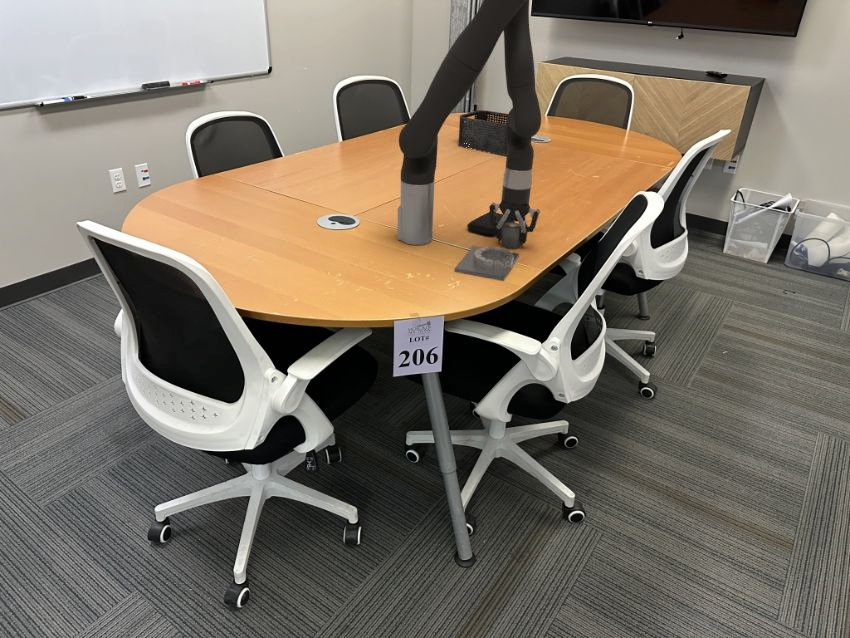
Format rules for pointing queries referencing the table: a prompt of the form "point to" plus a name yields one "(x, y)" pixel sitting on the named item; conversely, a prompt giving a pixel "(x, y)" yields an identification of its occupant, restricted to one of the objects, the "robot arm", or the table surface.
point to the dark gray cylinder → (511, 235)
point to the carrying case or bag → (485, 225)
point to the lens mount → (487, 262)
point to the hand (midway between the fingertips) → (510, 242)
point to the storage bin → (484, 131)
